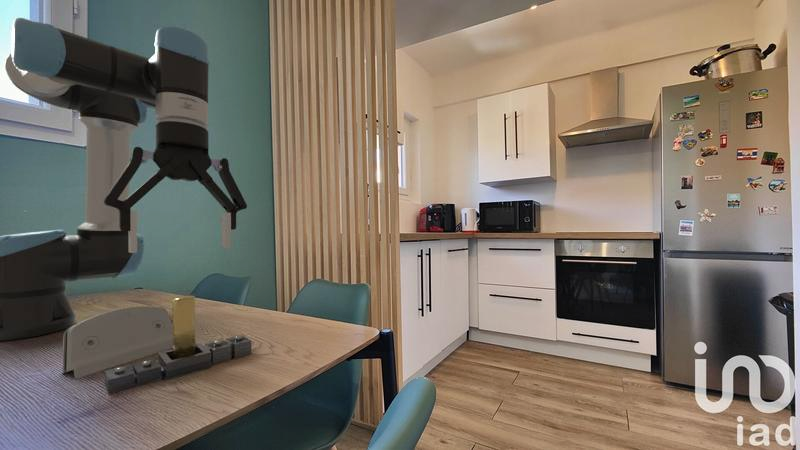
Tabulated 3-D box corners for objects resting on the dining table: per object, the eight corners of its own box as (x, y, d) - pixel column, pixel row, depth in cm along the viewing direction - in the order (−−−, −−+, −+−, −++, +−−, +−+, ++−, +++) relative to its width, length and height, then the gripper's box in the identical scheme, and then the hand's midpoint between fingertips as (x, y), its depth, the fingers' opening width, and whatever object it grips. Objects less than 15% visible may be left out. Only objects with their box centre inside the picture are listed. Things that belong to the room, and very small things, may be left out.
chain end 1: (104, 381, 52) (104, 364, 52) (200, 357, 61) (200, 342, 61) (108, 396, 47) (108, 378, 47) (211, 367, 56) (211, 352, 56)
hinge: (73, 379, 52) (63, 317, 54) (61, 383, 54) (52, 323, 56) (182, 344, 67) (173, 297, 69) (170, 349, 69) (161, 302, 71)
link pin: (171, 367, 56) (170, 297, 56) (192, 362, 59) (192, 294, 59) (175, 373, 54) (175, 300, 54) (197, 367, 56) (197, 297, 56)
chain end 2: (158, 367, 56) (157, 349, 56) (240, 346, 66) (240, 330, 66) (166, 380, 52) (166, 359, 52) (253, 355, 62) (253, 338, 62)
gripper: (82, 100, 45) (83, 256, 45) (264, 135, 63) (265, 247, 63) (80, 113, 50) (81, 253, 50) (249, 142, 68) (249, 245, 68)
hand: (183, 250), depth 56 cm, fingers open, 13 cm apart
